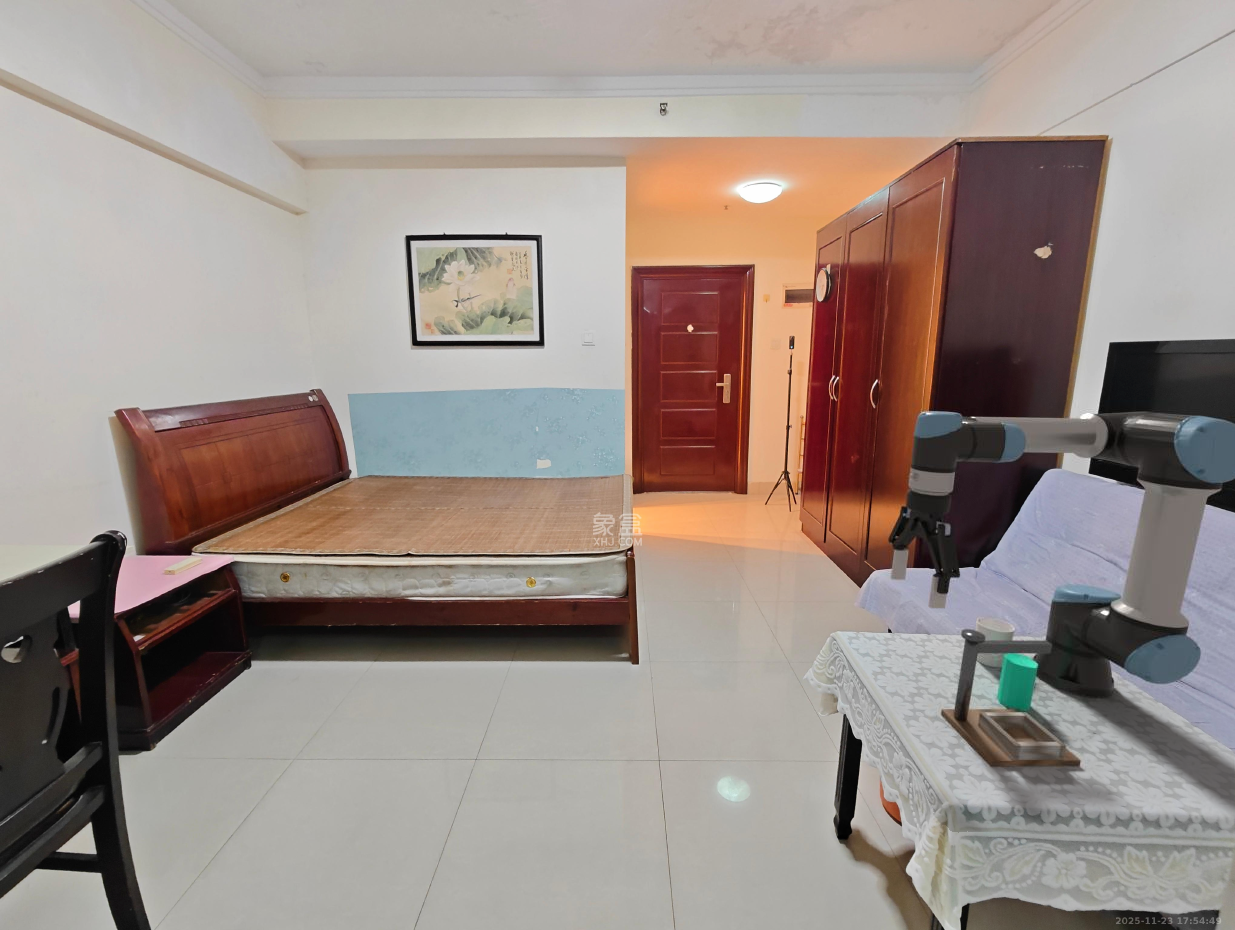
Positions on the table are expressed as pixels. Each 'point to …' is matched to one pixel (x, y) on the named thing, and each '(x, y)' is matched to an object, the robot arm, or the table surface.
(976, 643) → the bar
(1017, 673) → the candle
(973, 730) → the board
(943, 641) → the table surface
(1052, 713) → the table surface
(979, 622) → the white cup
